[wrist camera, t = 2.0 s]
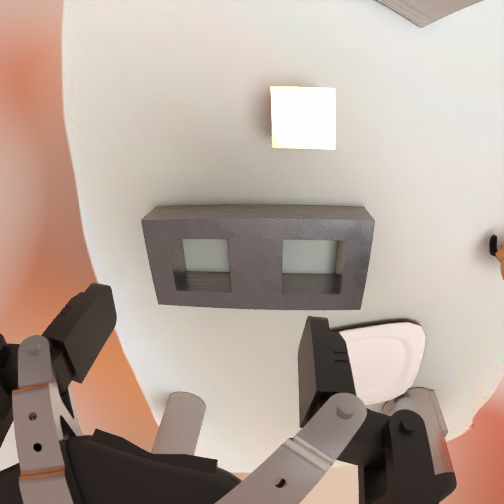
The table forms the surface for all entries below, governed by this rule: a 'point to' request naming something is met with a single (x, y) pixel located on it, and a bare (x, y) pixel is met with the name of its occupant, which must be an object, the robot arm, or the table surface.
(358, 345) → the plate
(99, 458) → the robot arm
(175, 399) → the bottle
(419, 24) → the supplement box
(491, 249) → the action figure
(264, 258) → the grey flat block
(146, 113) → the table surface
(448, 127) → the table surface
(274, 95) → the brass peg
